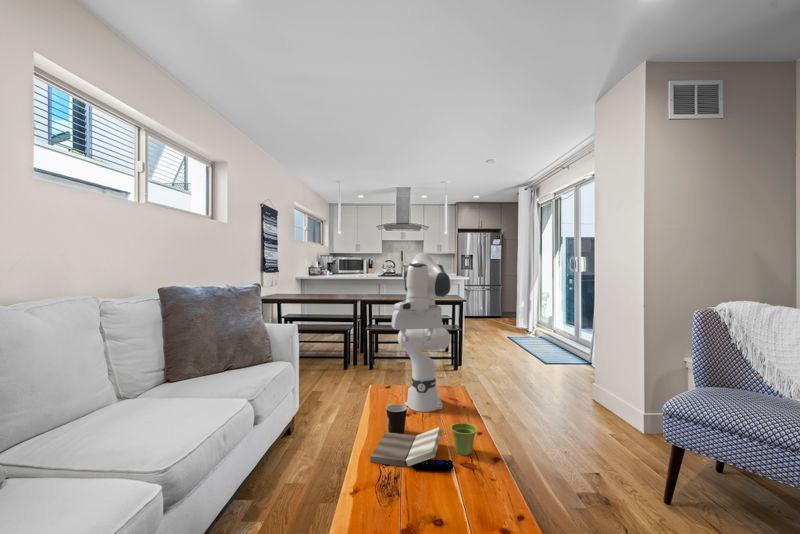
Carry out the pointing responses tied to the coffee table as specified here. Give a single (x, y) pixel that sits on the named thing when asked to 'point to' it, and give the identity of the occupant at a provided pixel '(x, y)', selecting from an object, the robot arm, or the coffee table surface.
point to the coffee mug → (396, 418)
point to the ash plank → (424, 446)
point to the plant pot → (463, 437)
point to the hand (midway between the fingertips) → (417, 340)
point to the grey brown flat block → (393, 449)
